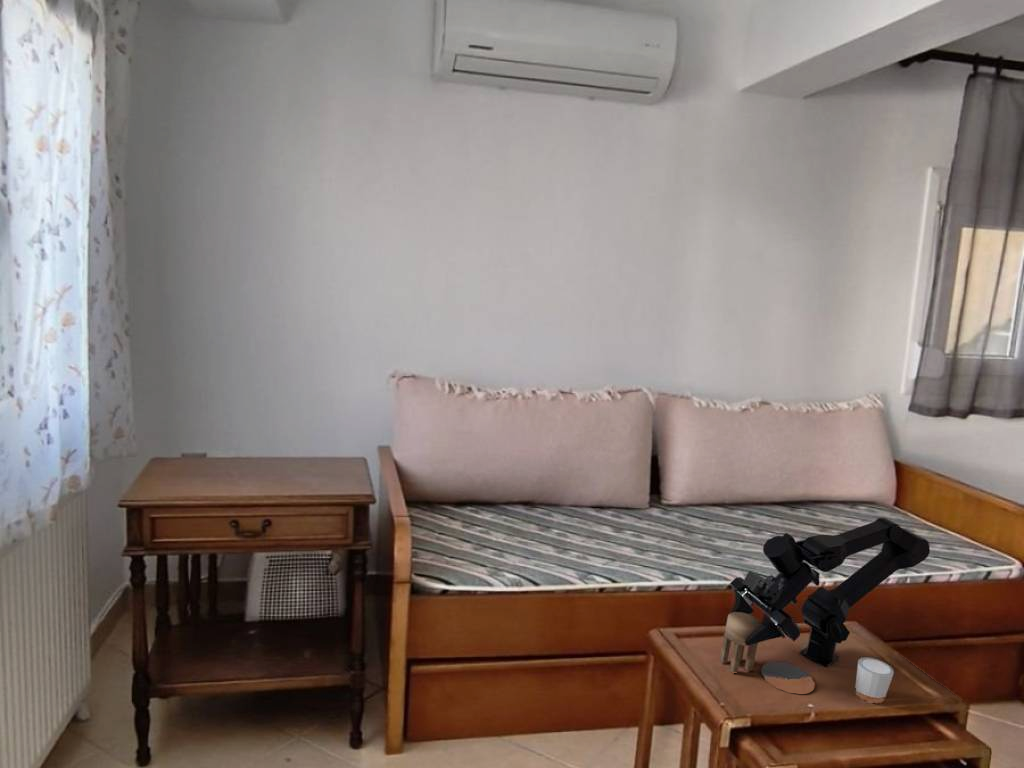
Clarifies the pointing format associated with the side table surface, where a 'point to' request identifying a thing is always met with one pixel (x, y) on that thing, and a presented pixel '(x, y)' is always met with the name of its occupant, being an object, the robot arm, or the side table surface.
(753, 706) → the side table surface
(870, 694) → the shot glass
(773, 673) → the mat
